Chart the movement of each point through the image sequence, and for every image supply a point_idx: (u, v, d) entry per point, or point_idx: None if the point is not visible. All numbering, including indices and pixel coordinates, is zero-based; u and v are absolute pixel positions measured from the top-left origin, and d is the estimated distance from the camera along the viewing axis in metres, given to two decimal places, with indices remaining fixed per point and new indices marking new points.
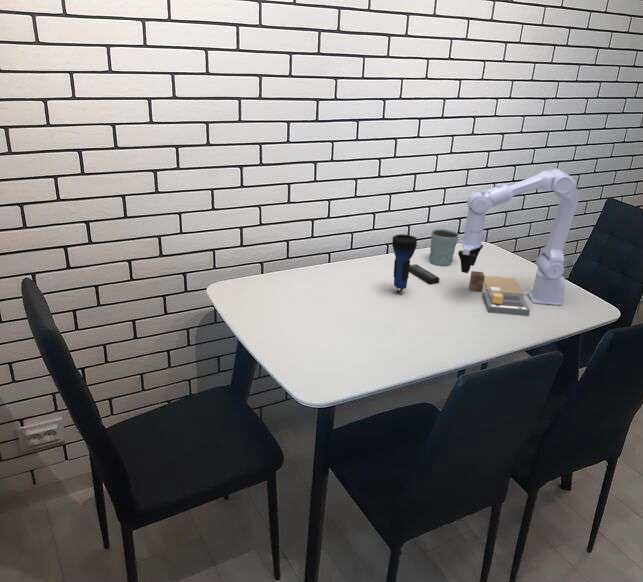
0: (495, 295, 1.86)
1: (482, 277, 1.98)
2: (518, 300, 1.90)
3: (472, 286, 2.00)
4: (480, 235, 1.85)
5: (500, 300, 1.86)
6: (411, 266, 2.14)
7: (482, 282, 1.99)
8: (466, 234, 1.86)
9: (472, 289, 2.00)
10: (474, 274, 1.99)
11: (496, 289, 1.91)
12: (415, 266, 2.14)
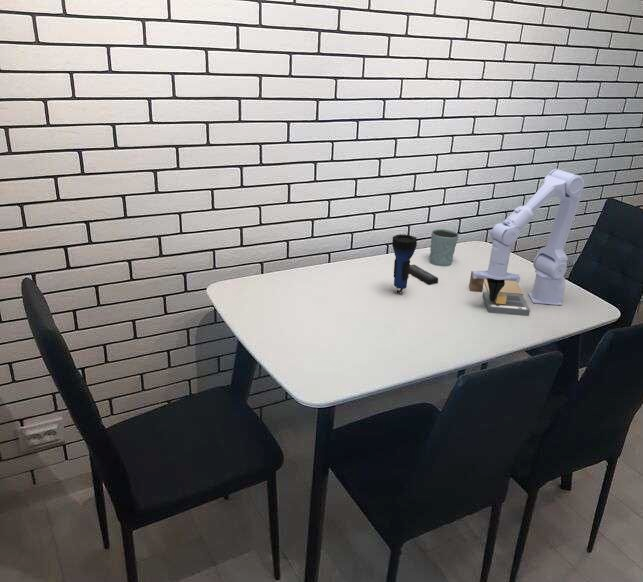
0: (498, 295, 1.86)
1: None
2: (518, 300, 1.90)
3: (472, 286, 2.00)
4: (496, 266, 1.80)
5: (503, 300, 1.86)
6: (409, 266, 2.14)
7: (482, 282, 1.99)
8: None
9: (472, 289, 2.00)
10: None
11: None
12: (413, 266, 2.14)
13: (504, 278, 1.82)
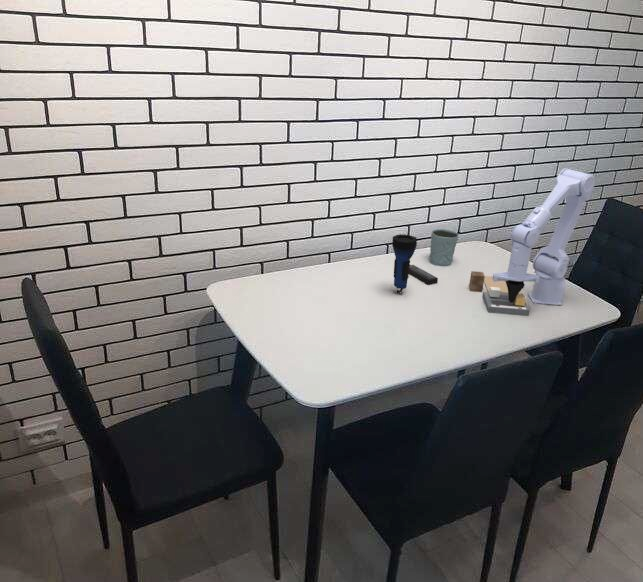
0: (518, 297, 1.86)
1: (482, 277, 1.98)
2: None
3: (472, 286, 2.00)
4: (517, 268, 1.80)
5: (523, 302, 1.86)
6: None
7: (482, 282, 1.99)
8: None
9: (472, 289, 2.00)
10: (474, 274, 1.99)
11: (496, 289, 1.91)
12: (412, 267, 2.14)
13: (525, 279, 1.82)
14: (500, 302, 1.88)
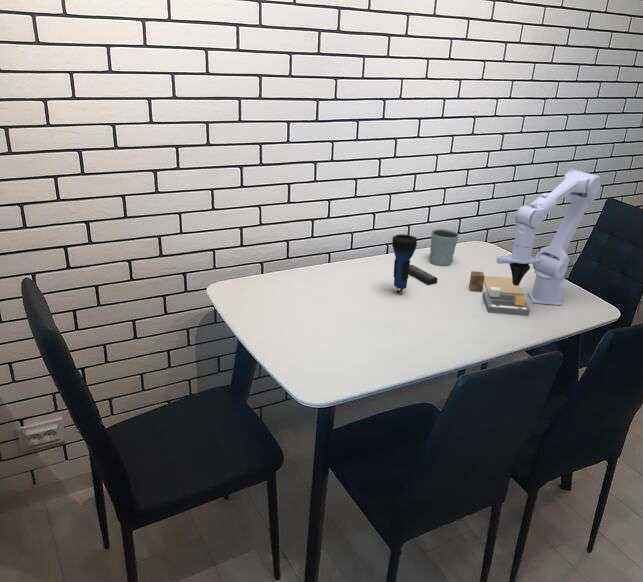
0: (517, 297, 1.86)
1: (482, 277, 1.98)
2: None
3: (472, 286, 2.00)
4: (522, 250, 1.77)
5: (522, 302, 1.86)
6: None
7: (482, 282, 1.99)
8: None
9: (472, 289, 2.00)
10: (474, 274, 1.99)
11: (496, 289, 1.91)
12: (412, 267, 2.14)
13: (530, 261, 1.79)
14: (500, 302, 1.88)
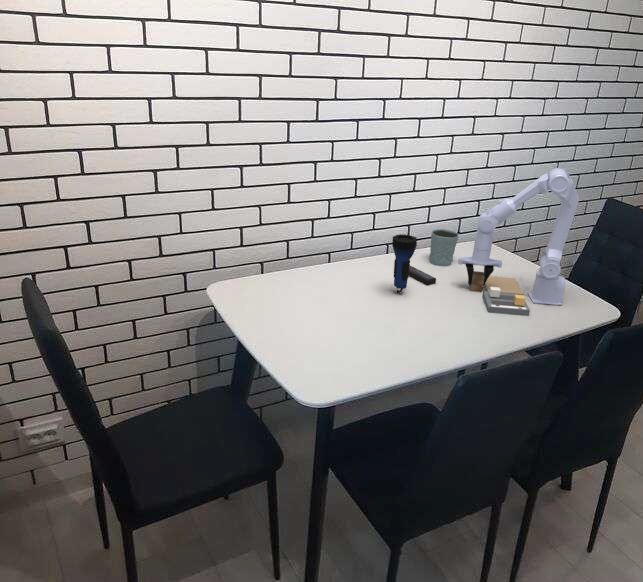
0: (517, 297, 1.86)
1: (482, 277, 1.98)
2: None
3: (472, 286, 2.00)
4: (479, 253, 1.94)
5: (522, 302, 1.86)
6: None
7: (482, 282, 1.99)
8: None
9: (472, 289, 2.00)
10: (474, 274, 1.99)
11: (496, 289, 1.91)
12: None
13: (487, 264, 1.96)
14: (500, 302, 1.88)
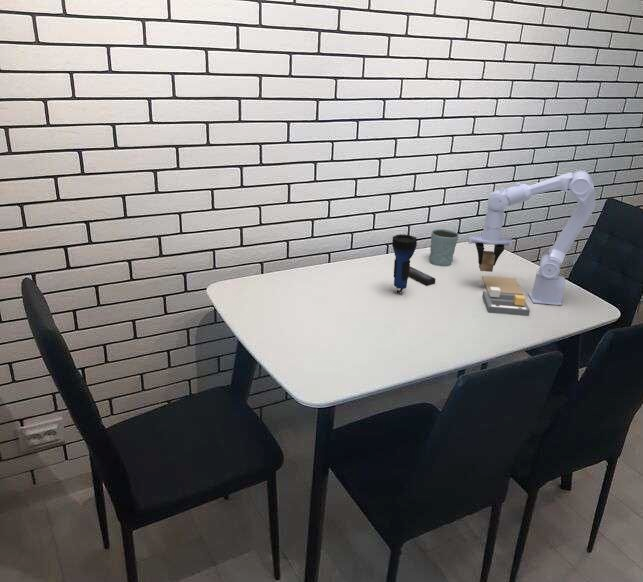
0: (517, 297, 1.86)
1: (492, 256, 1.96)
2: None
3: (482, 265, 1.98)
4: (490, 231, 1.92)
5: (522, 302, 1.86)
6: None
7: (492, 261, 1.97)
8: None
9: (482, 269, 1.98)
10: (484, 253, 1.97)
11: (496, 289, 1.91)
12: None
13: (498, 242, 1.93)
14: (500, 302, 1.88)
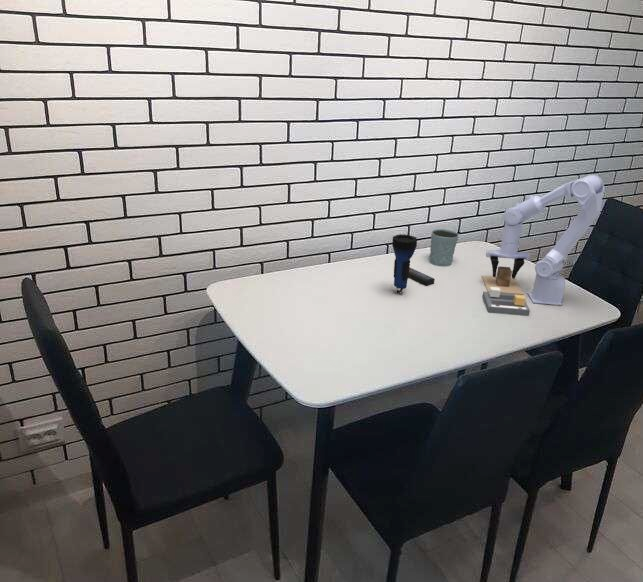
0: (517, 297, 1.86)
1: (509, 272, 2.02)
2: None
3: (499, 281, 2.03)
4: (507, 246, 1.97)
5: (522, 302, 1.86)
6: None
7: (509, 277, 2.02)
8: None
9: (499, 284, 2.04)
10: (501, 269, 2.03)
11: (496, 289, 1.91)
12: None
13: (515, 256, 1.99)
14: (500, 302, 1.88)
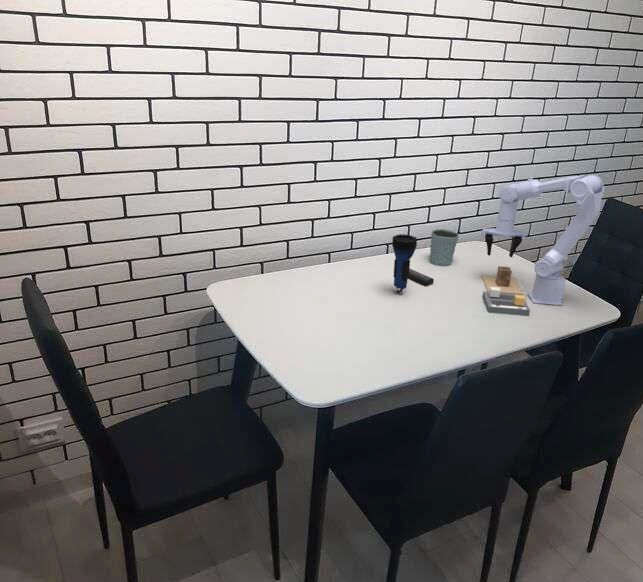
0: (517, 297, 1.86)
1: (509, 272, 2.02)
2: None
3: (499, 281, 2.03)
4: (503, 223, 1.97)
5: (522, 302, 1.86)
6: None
7: (509, 277, 2.02)
8: None
9: (499, 284, 2.04)
10: (501, 269, 2.03)
11: (496, 289, 1.91)
12: None
13: (511, 234, 1.99)
14: (500, 302, 1.88)
